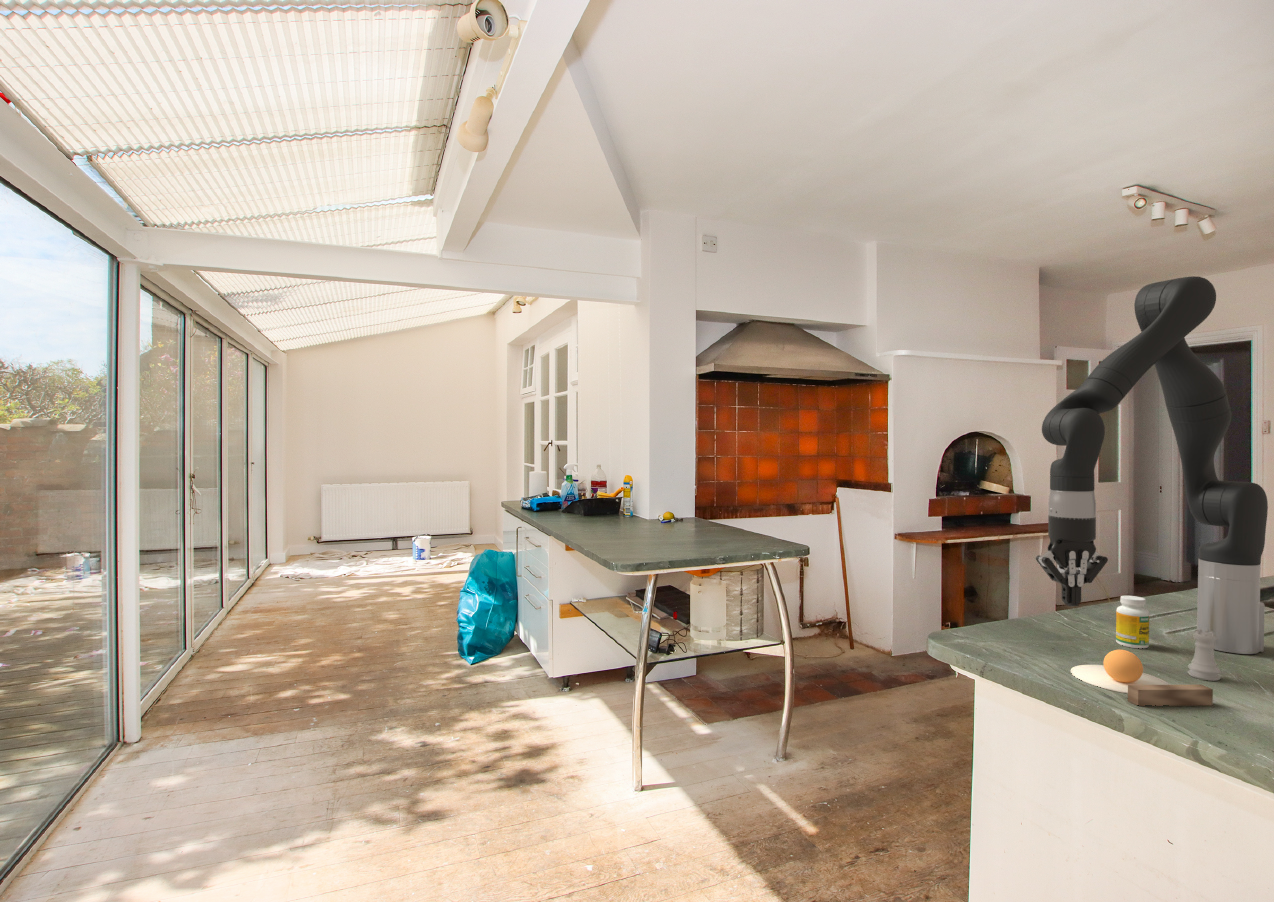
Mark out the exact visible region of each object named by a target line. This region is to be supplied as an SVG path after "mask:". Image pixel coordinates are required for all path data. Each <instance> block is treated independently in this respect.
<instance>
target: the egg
mask: <svg viewBox="0 0 1274 902" xmlns="http://www.w3.org/2000/svg"><path fill="white" fill-rule="evenodd" d="M1102 665H1104V669H1105V671H1106V672H1107V674H1108V675H1109V676H1110V677H1111V678H1113V679H1114V680H1116V681H1118V682H1122V683H1132V682H1135V681H1137V680H1138V679H1139V678H1140V677H1141V676H1142V673H1144V666H1143V663H1142V661H1141V659H1140V658H1139V657H1138V656H1137V655H1135V654H1134V653H1133V652H1132V651H1129V650H1125V649H1115V650H1112V651H1109V652H1108V653H1107V654H1106V655H1105V656H1104V659H1103V664H1102Z"/></svg>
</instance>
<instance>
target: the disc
mask: <svg viewBox="0 0 1274 902" xmlns="http://www.w3.org/2000/svg"><path fill="white" fill-rule="evenodd" d="M1071 673H1072V674H1071ZM1070 674H1071V675H1072V676H1073V677H1074V676H1075V677H1074V678H1076V679H1077V678H1078V679H1077V680H1079V679H1080V680H1079V681H1081V680H1082V681H1081V682H1084V683H1085V684H1088V685H1091V686H1094V687H1097V686H1098V688H1100V687H1101V689H1105V690H1107V691H1113V692H1118V693H1123V694H1128V685H1171V684H1170V683H1168V681H1165V680H1163V679H1161V678H1159V677H1157V676H1154V675H1152V674H1148V673H1145V672H1143V673H1142V676H1141V677H1140V678H1139V679H1138V680H1137V681H1135V682H1132V683H1122V682H1118V681H1116V680H1114V679H1113V678H1111V677H1110V676H1109V675H1108V674H1107V672H1106V671H1105V669H1104V664H1081V665H1076V666H1073V667H1072V668H1071V669H1070Z"/></svg>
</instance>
